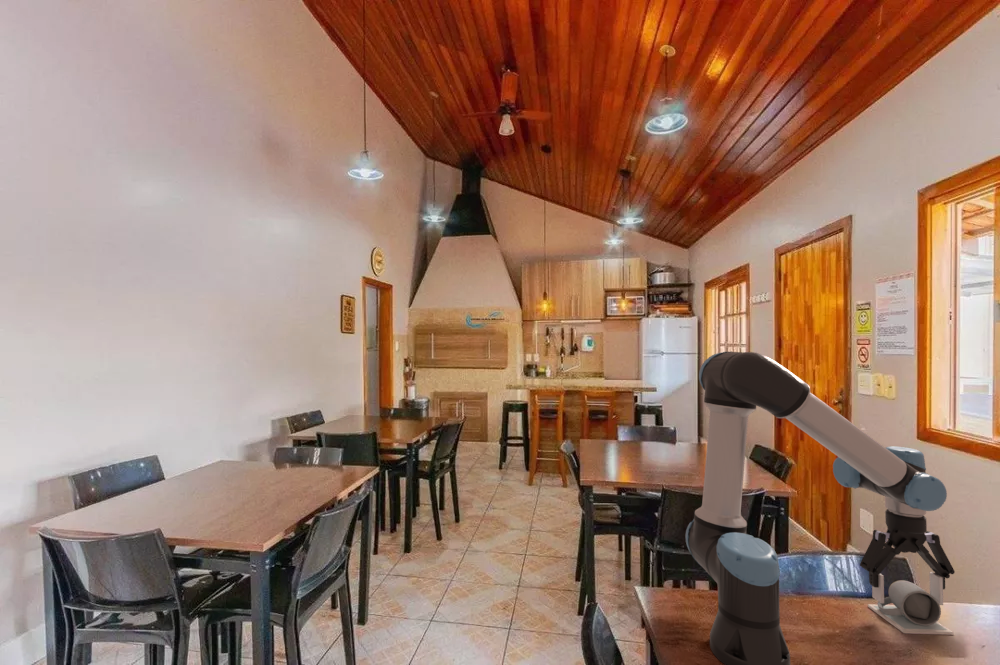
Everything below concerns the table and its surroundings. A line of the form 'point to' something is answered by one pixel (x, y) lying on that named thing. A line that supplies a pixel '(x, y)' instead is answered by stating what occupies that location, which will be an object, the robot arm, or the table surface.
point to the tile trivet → (910, 623)
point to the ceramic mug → (911, 603)
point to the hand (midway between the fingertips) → (907, 601)
